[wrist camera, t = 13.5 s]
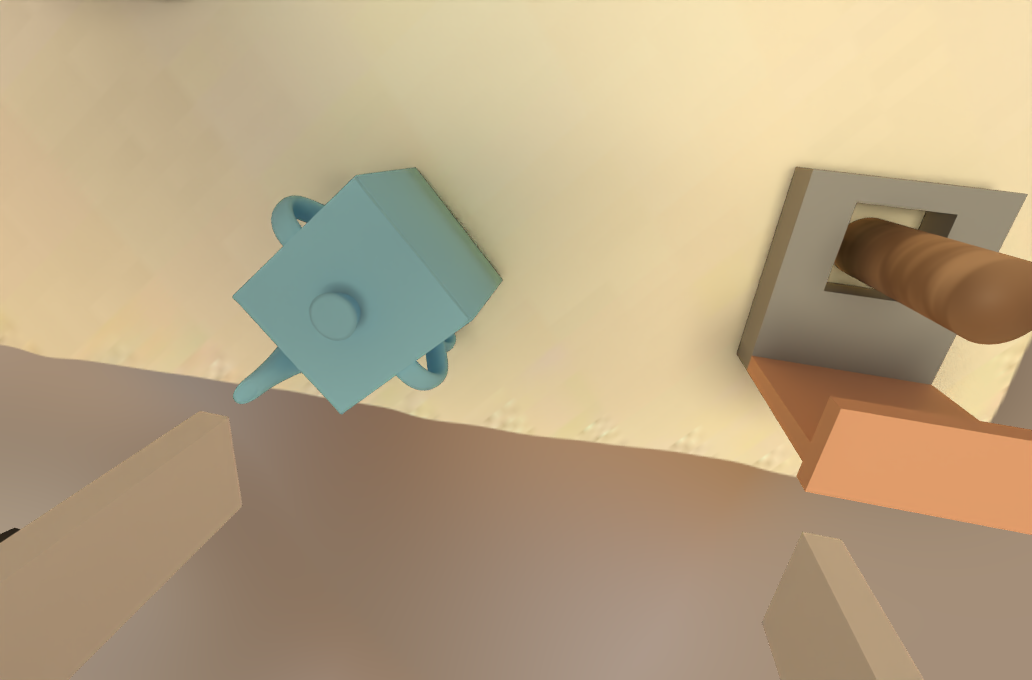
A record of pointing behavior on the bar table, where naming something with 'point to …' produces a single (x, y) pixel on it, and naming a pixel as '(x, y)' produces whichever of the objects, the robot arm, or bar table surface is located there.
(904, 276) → the walnut peg
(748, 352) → the socket stand
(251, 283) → the teal cube teapot
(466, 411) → the bar table surface
